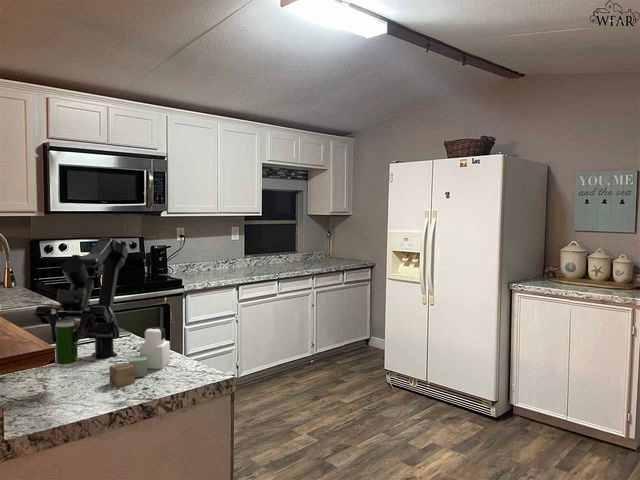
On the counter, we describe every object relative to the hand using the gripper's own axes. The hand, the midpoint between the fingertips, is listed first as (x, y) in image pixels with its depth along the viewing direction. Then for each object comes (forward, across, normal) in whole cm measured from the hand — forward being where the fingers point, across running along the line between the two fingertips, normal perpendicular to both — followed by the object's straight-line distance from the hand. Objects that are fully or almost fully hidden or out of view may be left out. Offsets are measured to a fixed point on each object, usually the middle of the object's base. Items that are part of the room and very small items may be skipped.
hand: (64, 341), depth 136 cm
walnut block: (+6, +14, +13) cm, 20 cm away
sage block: (+1, +16, +18) cm, 24 cm away
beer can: (+4, 0, +6) cm, 7 cm away
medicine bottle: (-4, +19, +24) cm, 31 cm away
